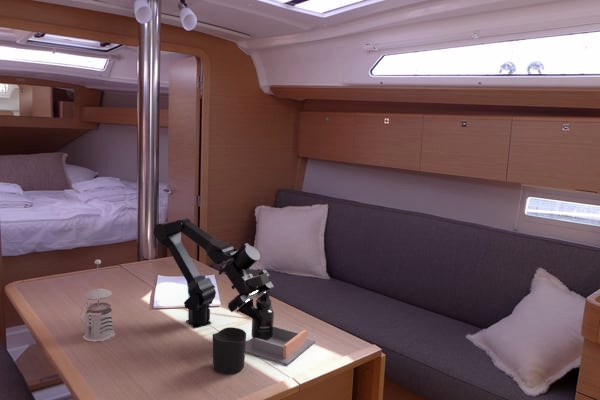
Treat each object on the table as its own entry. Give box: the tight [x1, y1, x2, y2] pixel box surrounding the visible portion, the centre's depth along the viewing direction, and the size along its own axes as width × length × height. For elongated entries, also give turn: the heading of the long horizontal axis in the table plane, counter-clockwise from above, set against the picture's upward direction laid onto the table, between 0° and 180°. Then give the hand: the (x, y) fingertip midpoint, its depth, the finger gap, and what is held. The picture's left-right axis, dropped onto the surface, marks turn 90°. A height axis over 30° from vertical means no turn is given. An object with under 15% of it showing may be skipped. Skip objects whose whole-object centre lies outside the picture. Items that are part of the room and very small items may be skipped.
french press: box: [80, 259, 115, 340], centre depth 150 cm, size 10×12×25 cm
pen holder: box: [212, 326, 247, 376], centre depth 135 cm, size 9×9×10 cm
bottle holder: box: [245, 325, 316, 367], centre depth 150 cm, size 18×18×5 cm
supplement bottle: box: [250, 298, 275, 340], centre depth 152 cm, size 7×7×12 cm
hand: (266, 317), depth 151 cm, fingers closed on supplement bottle, 7 cm apart
